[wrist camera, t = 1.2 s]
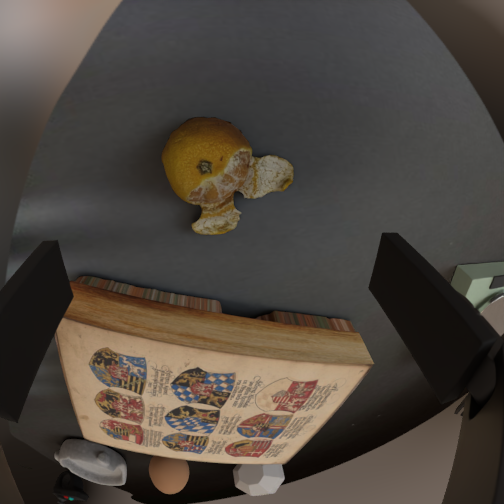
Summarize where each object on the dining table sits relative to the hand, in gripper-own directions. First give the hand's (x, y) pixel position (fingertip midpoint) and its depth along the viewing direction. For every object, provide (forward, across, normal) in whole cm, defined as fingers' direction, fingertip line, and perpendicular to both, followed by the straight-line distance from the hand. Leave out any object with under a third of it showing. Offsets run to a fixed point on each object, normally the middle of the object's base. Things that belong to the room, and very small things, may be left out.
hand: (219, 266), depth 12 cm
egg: (+12, -10, -43) cm, 45 cm away
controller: (+12, -40, -67) cm, 79 cm away
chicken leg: (+12, +6, -50) cm, 52 cm away
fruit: (+12, 0, 0) cm, 12 cm away
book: (+12, -4, -22) cm, 25 cm away
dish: (+12, -26, -48) cm, 56 cm away
